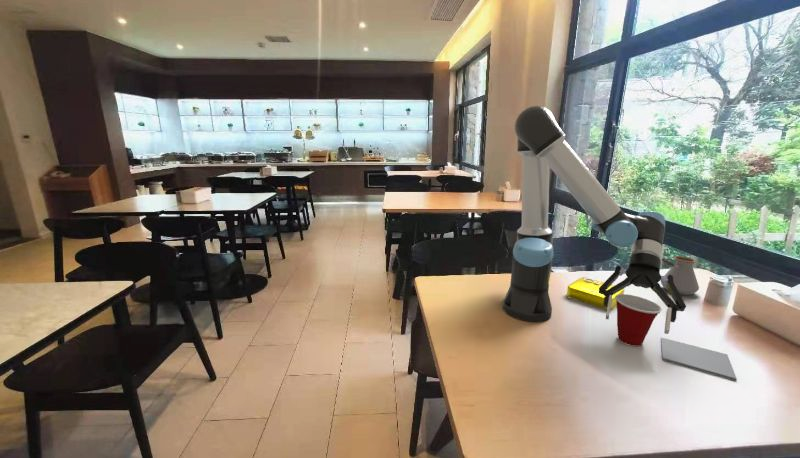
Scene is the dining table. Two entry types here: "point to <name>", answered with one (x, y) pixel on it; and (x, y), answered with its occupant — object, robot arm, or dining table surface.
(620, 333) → the plastic cup
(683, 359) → the card
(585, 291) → the element tile
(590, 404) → the dining table surface
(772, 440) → the dining table surface
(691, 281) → the coffee pot
